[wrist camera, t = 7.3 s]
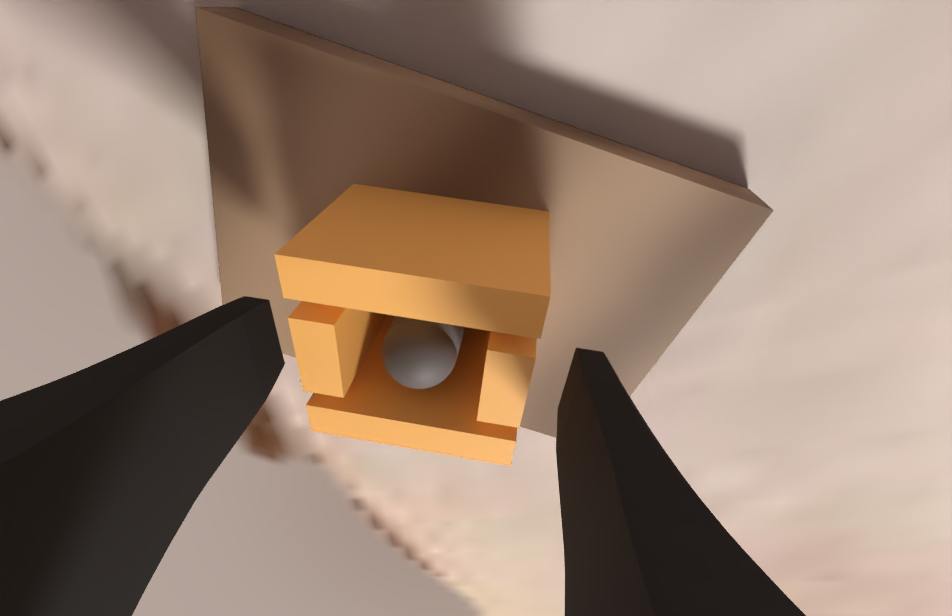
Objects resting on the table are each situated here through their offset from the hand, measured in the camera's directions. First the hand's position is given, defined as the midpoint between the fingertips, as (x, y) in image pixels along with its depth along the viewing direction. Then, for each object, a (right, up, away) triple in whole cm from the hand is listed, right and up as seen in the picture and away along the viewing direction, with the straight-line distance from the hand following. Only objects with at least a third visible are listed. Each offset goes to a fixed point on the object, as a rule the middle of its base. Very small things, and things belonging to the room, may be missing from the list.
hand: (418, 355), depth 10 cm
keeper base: (+1, +3, +4) cm, 5 cm away
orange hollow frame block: (0, +2, +3) cm, 3 cm away
